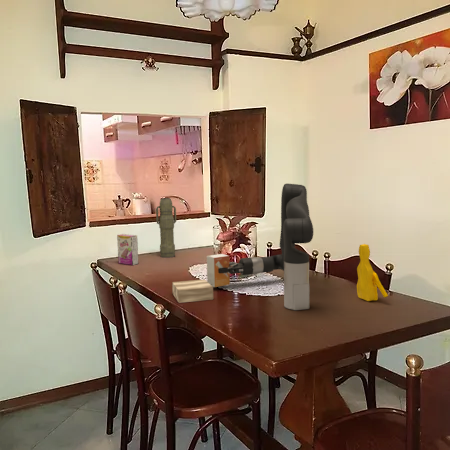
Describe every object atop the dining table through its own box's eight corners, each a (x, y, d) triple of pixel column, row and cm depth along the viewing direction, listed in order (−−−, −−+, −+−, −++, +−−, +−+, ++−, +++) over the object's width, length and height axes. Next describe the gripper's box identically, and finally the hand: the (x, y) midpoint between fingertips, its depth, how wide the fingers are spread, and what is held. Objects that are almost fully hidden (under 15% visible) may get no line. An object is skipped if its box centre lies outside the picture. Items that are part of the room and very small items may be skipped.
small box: (214, 287, 197) (213, 257, 196) (207, 284, 203) (206, 255, 201) (230, 284, 202) (229, 255, 200) (222, 282, 207) (221, 253, 206)
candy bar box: (117, 263, 258) (116, 234, 256) (124, 262, 263) (123, 233, 261) (132, 265, 252) (131, 236, 250) (138, 264, 257) (137, 234, 255)
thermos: (179, 256, 276) (177, 198, 272) (161, 258, 271) (158, 199, 267) (174, 254, 284) (172, 197, 280) (156, 256, 279) (153, 198, 274)
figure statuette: (391, 304, 174) (393, 246, 171) (375, 306, 171) (376, 248, 168) (360, 292, 190) (361, 240, 188) (345, 295, 187) (345, 241, 185)
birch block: (213, 299, 185) (213, 287, 184) (178, 302, 181) (178, 290, 180) (204, 290, 198) (204, 279, 197) (172, 293, 194) (172, 282, 194)
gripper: (245, 255, 212) (211, 257, 208) (256, 260, 199) (220, 263, 194) (246, 271, 213) (212, 274, 209) (257, 277, 200) (220, 281, 195)
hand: (216, 269), depth 201 cm, fingers closed on small box, 8 cm apart
